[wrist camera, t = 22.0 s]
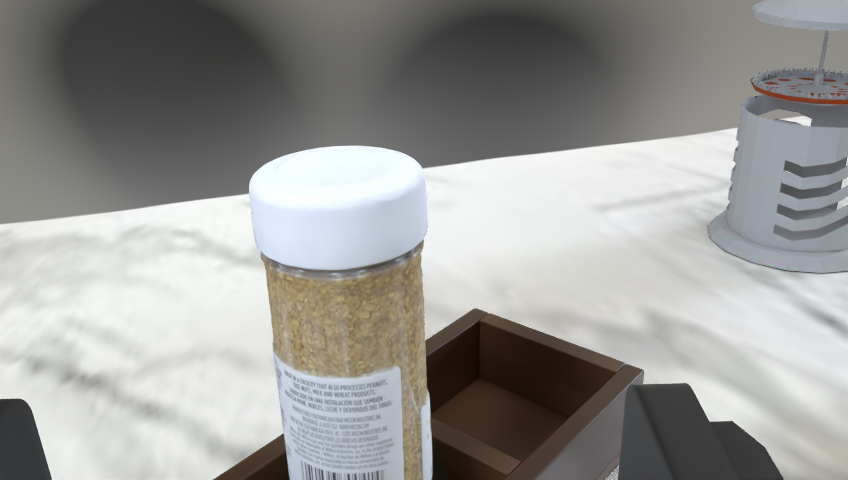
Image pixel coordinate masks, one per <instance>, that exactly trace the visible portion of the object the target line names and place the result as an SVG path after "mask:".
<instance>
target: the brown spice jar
mask: <svg viewBox="0 0 848 480" xmlns="http://www.w3.org/2000/svg"><path fill="white" fill-rule="evenodd" d="M249 194H250V204H251V214H252V223H253V230H254V237H255V242H256V245H257V247H258V248H259V250H260V251H261V259H262V260H263V262H264V265H265V269H266V275H267V286H268V292H269V303H270V310H271V319H272V326H273V335H274V338H273V353H274V361H275V369H276V376H277V384H278V391H279V398H280V406H281V414H282V422H283V431H284V438H285V445H286V454H287V462H288V470H289V478H290V480H432V435H431V413H430V398H429V392H428V389H427V376H426V347H425V328H424V325H425V323H424V297H423V289H422V288H423V283H422V269H421V252H422V249H423V243H424V237H425V235H426V233H427V227H428V221H427V199H426V185H425V175H424V171H423V169H422V167H421V166H420V164H418V162H417V161H415V160H414V159H413V158H411V157H409V156H408V155H406V154H403V153H400V152H397V151H394V150H389V149H384V148H378V147H368V146H335V147H324V148H316V149H310V150H305V151H301V152H297V153H293V154H289V155H285V156H282V157H280V158H277V159H275V160H273V161H271V162H269V163H267V164H265V165H264V166H262V167H261V168H260V169H258V170H257V171H256V172H255V174H254V175H253V176H252V178H251V181H250V185H249Z"/></svg>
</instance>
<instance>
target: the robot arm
mask: <svg viewBox="0 0 848 480" xmlns="http://www.w3.org/2000/svg"><path fill="white" fill-rule="evenodd" d="M0 480H52V478H51V475H50V471H49V468H48V464H47V461H46V458H45V454H44V451H43V447H42V444H41V440H40V437H39V434H38V430H37V427H36V423H35V420H34V416H33V413H32V410H31V408H30V406H29V405H28V404H27V402H25V401H24V400H22V399H0ZM618 480H783V477H782V475H781V474H780V472H779V470H778V469H777V467H776V465H775V464H774V462H773V460H772V459H771V457H770V455H769V454H768V452H767V450H766V449H765V447H764V446H762V445H761V444H760V443H759V442H757V441H756V440H755V439H754V438H753V437H751V436H750V435H749V434H748V433H746V432H745V431H744V430H743V429H741V428H740V427H739V426H738V425H737V424H735V423H734V422H733V421H723V422H709V420H708V418H707V416H706V415H705V413H704V411H703V409H702V407H701V405H700V403H699V401H698V399H697V397H696V395H695V394H694V392H693V390H692V388H691V387H690V386H689V385H688V384H687V383H680V384H641V385H630V386H629V387H628V389H627V392H626V397H625V407H624V418H623V429H622V440H621V451H620V463H619V474H618Z"/></svg>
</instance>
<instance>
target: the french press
mask: <svg viewBox="0 0 848 480" xmlns="http://www.w3.org/2000/svg"><path fill="white" fill-rule="evenodd" d="M753 11H754V13H755V15H756V17H757V18H758V20H759V21H763V22H767V23H770V24H773V25H780V26H787V27H793V28H802V29H815V30H825V36H824V42H823V48H822V53H821V59H820V64H819V70H818V69H816V70H815V71H813V68H810V70H809V71H808V70H807V68H804V69H803V71H802V70H801V69H797V70H796V69H792V70H791V69H788V70H789V71H787V70H786V69H785V68H784V69H782V70H780V69H777V70H773V71H766V72H762V73H758V74H757V75H756V76H754V77H753V78H752V79H751V83H752V85H753V87H754V89H755V90H756V91H758V92H759V93H761V94H763V95H759V96H756V97H751V98H748V99H747V100H746V101H744V102H743V103H742V104H741V111H740V118H739V124H738V131H737V137H736V140H737V141H739V144H738V147H737V148H736V149H735V153H734V159H733V161H734V162H736V165H735V167H734V168H733V169H732V174H731V181H732V182H733V184H732V186H731V187H730V189H729V196H728V199H729V201H730V203H729V205H728V206H727V209H726V211H724V212H723V213H721V214H720V215H719V216H717V217H716V218H715V219H714V220H713V221H712V222H711V223H710V224H709V225H708V226H707V227H708V232H709V237H710V239H711V240H713V241H714V242H715V243H716V244H717V245H719V246H720V247H721V248H722V249H723V250H724V251H726V252H729V253H731V254H733V255H736V256H738V257H740V258H743V259H745V260H747V261H750V262H753V263H757V264H761V265H765V266H770V267H774V268H778V269H783V270H788V271H801V272H814V273H830V272H840V271H848V205H847V206H845V207H843V208H841V209H838V210H837V205H838V201H840V200H842V199H844V198H846V197H848V186H846V187H844V188H842V189H841V185H842V180H843V179H845V178H847V177H848V166H847V167H845V165H846V160H847V156H848V74H847V72H845V74H842V71H840V73H836V70H834V72H833V73H832V72H831V73H830V70H828V71H827V72H824V69H823V64H824V59H825V53H826V47H827V42H828V36H829V31H830V30H831V31H833V30H835V31H848V0H764V1H762V2H760V3H758V4H756V5H755V6H753ZM793 70H794V71H793ZM799 70H800V71H799ZM774 71H775V72H774ZM778 71H780V72H778ZM776 109H782V110H788V111H793V112H798V113H800V114H802V115H805V116H807V117H809V118H811V119H812V122H811V127H810V126H803V125H801V124H799V123H796V122H791V121H785V120H780V119H775V120H769V119H766V118H761V117H759V116H758V115H761V114H764V113H767V112H769V111H773V110H776ZM800 165H801V166H800ZM802 166H803V167H802ZM784 170H785V171H784ZM786 171H789V172H791V173H793V174H791V173H789V172H786ZM794 174H795V175H794ZM796 175H797V176H796Z"/></svg>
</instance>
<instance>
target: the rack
mask: <svg viewBox="0 0 848 480" xmlns="http://www.w3.org/2000/svg"><path fill="white" fill-rule="evenodd" d="M425 347H426V376H427V389H428V392H429V398H430V413H431V435H432V480H604V479H605V478H606V477H607V476H608V475H609V474H610V473H611V472H612V470H613V469H614V468H615V467H616V466H617V465H618V464H619V463H620V451H621V440H622V429H623V418H624V407H625V397H626V392H627V389H628V387H629V386H630V385H641V384H643V376H644V370H642V369H639V368H637V367H634V366H631V365H628V364H625V363H624V362H621V361H619V360H616V359H613V358H611V357H608V356H605V355H602V354H600V353H597V352H594V351H591V350H589V349H586V348H583V347H581V346H578V345H575V344H572V343H570V342H567V341H564V340H562V339H559V338H556V337H553V336H551V335H548V334H545V333H542V332H540V331H537V330H534V329H532V328H529V327H526V326H523V325H521V324H518V323H515V322H513V321H510V320H507V319H504V318H502V317H499V316H496V315H493V314H491V313H487V312H484V311H482V310H479V309H473V310H472V311H470V312H468V313H467V314H465V315H464V316H462V317H461V318H459V319H458V320H456V321H455V322H453V323H452V324H450V325H449V326H447V327H446V328H444V329H443V330H441V331H439V332H438V333H436V334H435V335H433V336H432V337H430V338H429V339H427V340H426V341H425ZM213 480H290V478H289V470H288V462H287V454H286V445H285V438H284V434H282V435H281V436H279V437H278V438H276V439H275V440H273V441H271V442H270V443H268V444H267V445H265V446H264V447H262V448H261V449H259V450H258V451H256V452H255V453H253V454H252V455H250V456H249V457H247V458H246V459H244V460H242V461H241V462H239V463H238V464H236V465H235V466H233V467H232V468H230V469H229V470H227V471H226V472H224V473H223V474H221V475H220V476H218V477H216V478H215V479H213Z"/></svg>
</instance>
